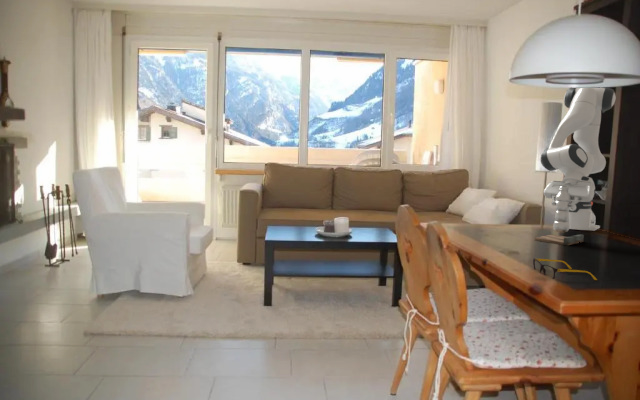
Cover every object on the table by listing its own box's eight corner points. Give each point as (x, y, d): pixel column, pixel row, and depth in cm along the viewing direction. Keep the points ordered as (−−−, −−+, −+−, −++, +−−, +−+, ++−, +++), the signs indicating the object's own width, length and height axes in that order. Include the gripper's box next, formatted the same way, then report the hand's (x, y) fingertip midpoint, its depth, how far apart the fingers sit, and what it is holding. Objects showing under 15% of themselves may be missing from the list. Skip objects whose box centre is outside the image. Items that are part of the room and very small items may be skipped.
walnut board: (551, 236, 234) (551, 230, 234) (583, 241, 223) (583, 234, 223) (534, 240, 223) (535, 233, 223) (567, 245, 213) (567, 238, 213)
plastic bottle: (553, 232, 220) (556, 186, 218) (552, 230, 227) (555, 185, 225) (570, 233, 218) (573, 187, 216) (568, 231, 224) (571, 186, 223)
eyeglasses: (529, 269, 170) (530, 257, 169) (571, 270, 171) (572, 258, 170) (551, 281, 156) (553, 268, 155) (597, 281, 157) (598, 268, 156)
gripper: (548, 176, 233) (536, 198, 227) (595, 178, 217) (584, 202, 212) (552, 185, 236) (540, 207, 230) (599, 188, 221) (588, 212, 215)
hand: (562, 205), depth 221 cm, fingers closed on plastic bottle, 6 cm apart
